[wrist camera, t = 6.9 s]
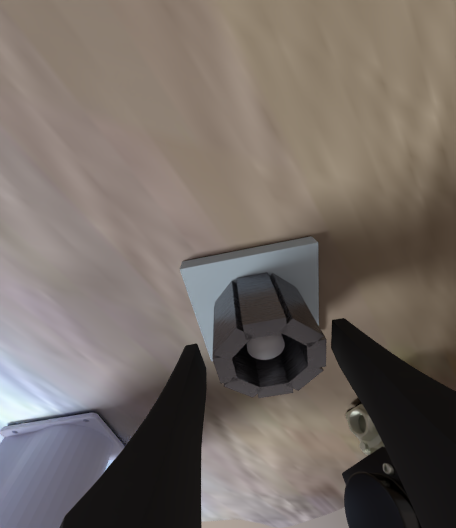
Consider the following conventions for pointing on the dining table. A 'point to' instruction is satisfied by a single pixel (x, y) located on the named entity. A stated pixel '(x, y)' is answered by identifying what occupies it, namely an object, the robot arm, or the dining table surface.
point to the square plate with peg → (249, 263)
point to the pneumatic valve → (374, 482)
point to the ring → (261, 325)
